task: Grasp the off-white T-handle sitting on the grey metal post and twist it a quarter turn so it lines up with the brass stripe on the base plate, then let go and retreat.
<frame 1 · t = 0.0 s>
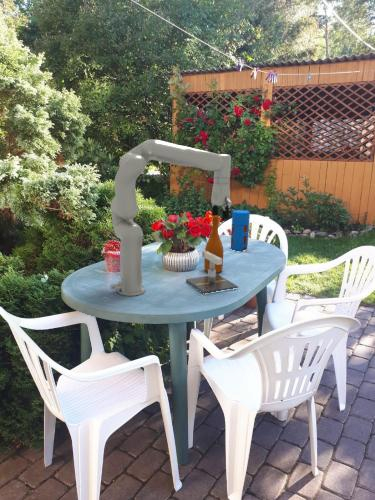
hand: (220, 217, 180), 31 cm above the table, tool pointing down, fingers open, 9 cm apart
wine bottle: (213, 271, 199), on the table
t handle: (211, 261, 175), point 12 cm above the table, hinge at 0.0°
post base: (211, 285, 178), on the table
thermos: (238, 250, 242), on the table
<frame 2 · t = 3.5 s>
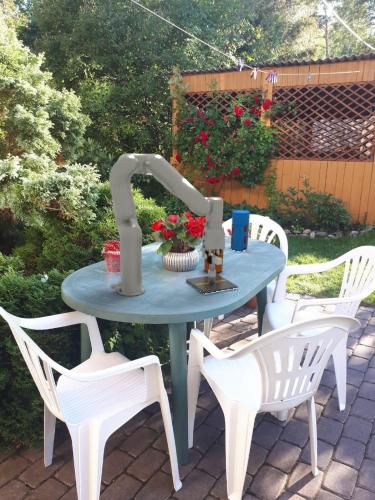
hand: (212, 262, 175), 11 cm above the table, tool pointing down, fingers closed on t handle, 2 cm apart
t handle: (211, 261, 175), point 12 cm above the table, hinge at 0.0°, touching gripper
everything else where it was.
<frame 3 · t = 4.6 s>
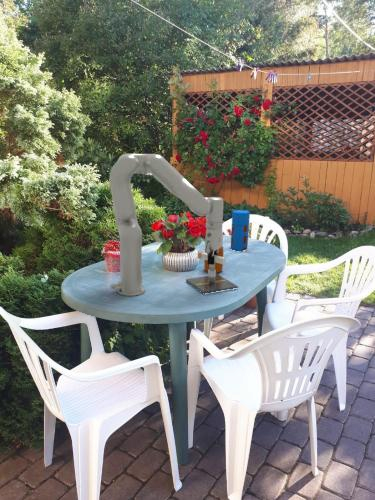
hand: (212, 262, 175), 11 cm above the table, tool pointing down, fingers closed on t handle, 3 cm apart
t handle: (211, 261, 175), point 12 cm above the table, hinge at 23.4°, touching gripper
everything else where it was.
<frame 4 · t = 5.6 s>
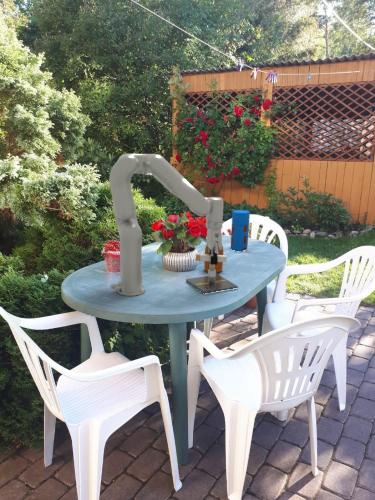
hand: (212, 262, 175), 11 cm above the table, tool pointing down, fingers closed on t handle, 3 cm apart
t handle: (210, 261, 175), point 12 cm above the table, hinge at 57.8°, touching gripper
everything else where it was.
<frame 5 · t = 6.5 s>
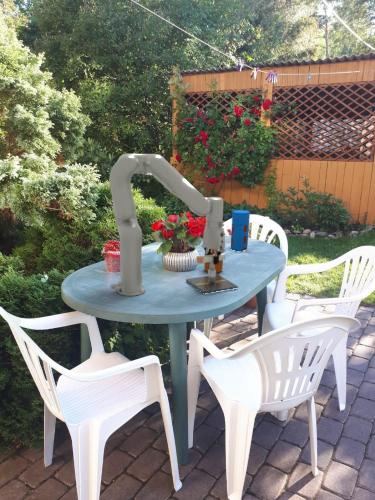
hand: (212, 262, 175), 11 cm above the table, tool pointing down, fingers closed on t handle, 3 cm apart
t handle: (211, 262, 174), point 12 cm above the table, hinge at 92.5°, touching gripper
everything else where it was.
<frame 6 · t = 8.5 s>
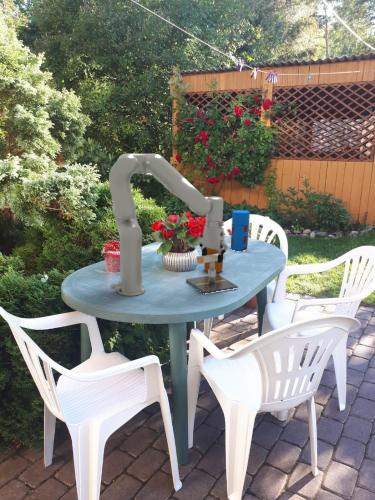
hand: (212, 260, 174), 13 cm above the table, tool pointing down, fingers open, 9 cm apart
t handle: (211, 262, 174), point 12 cm above the table, hinge at 94.1°
everything else where it was.
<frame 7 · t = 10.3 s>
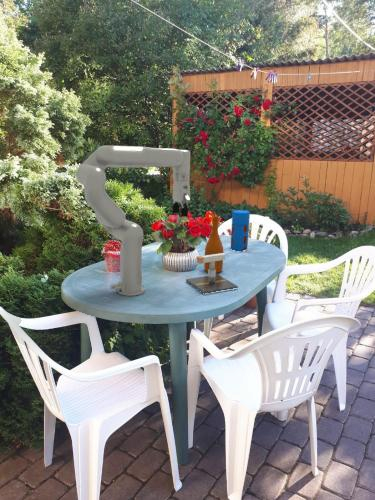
hand: (180, 214, 175), 33 cm above the table, tool pointing down, fingers open, 9 cm apart
nothing on the table moved.
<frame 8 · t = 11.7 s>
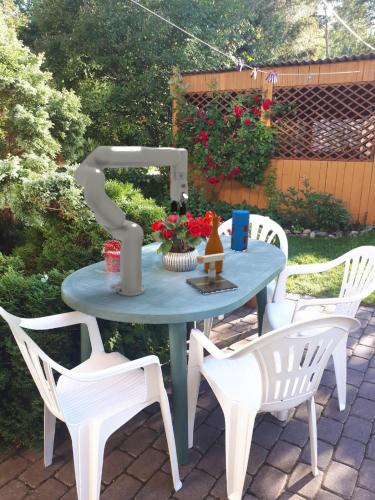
hand: (178, 213, 175), 33 cm above the table, tool pointing down, fingers open, 9 cm apart
nothing on the table moved.
at the end: t handle at +94° (first picture: +0°); the gripper is holding nothing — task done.
